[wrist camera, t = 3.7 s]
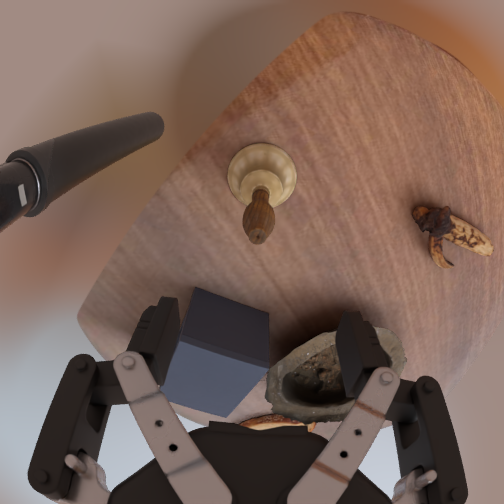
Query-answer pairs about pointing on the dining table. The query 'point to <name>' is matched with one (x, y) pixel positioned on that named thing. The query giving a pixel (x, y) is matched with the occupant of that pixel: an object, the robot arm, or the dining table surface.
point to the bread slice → (273, 422)
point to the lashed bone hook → (450, 233)
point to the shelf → (227, 324)
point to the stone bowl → (320, 379)
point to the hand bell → (261, 186)
